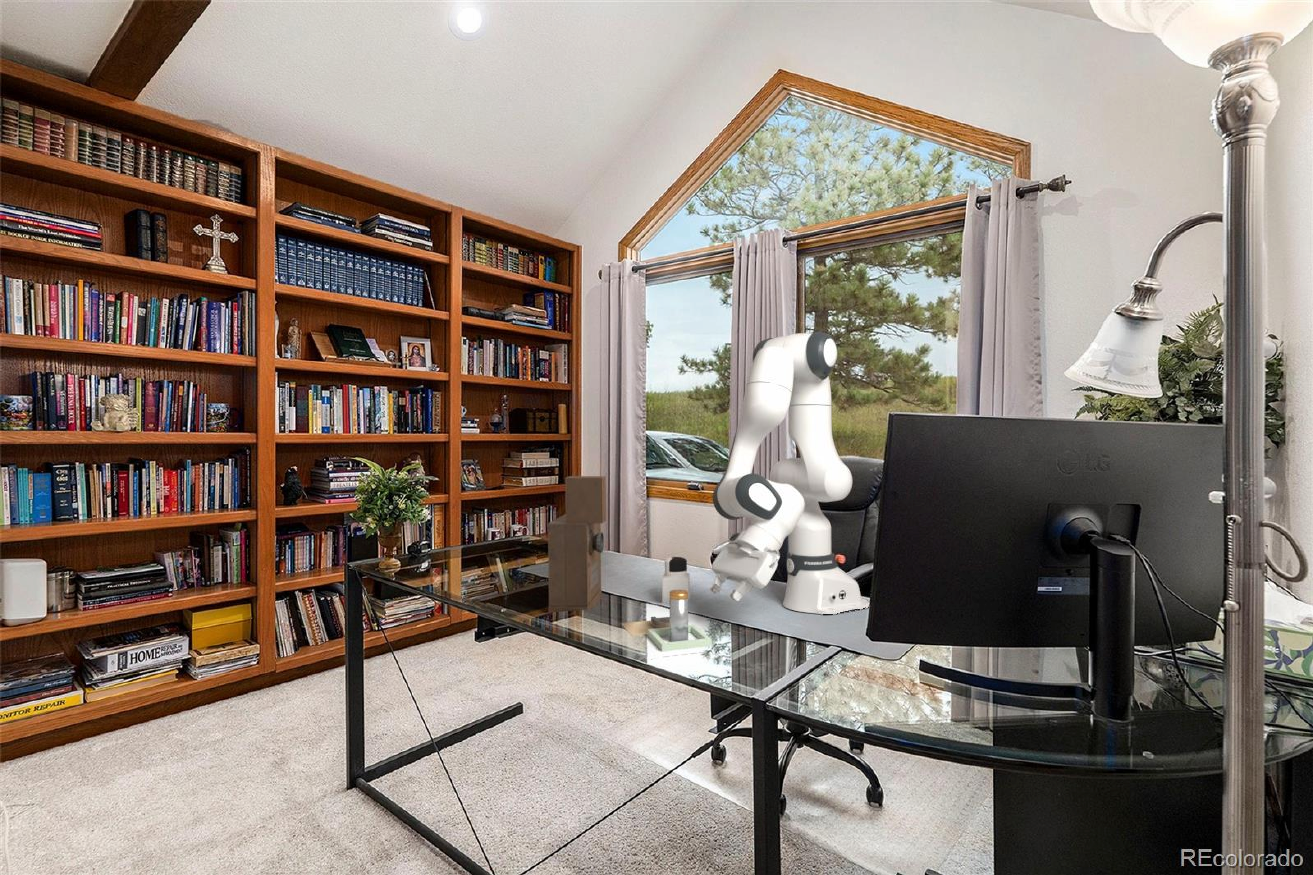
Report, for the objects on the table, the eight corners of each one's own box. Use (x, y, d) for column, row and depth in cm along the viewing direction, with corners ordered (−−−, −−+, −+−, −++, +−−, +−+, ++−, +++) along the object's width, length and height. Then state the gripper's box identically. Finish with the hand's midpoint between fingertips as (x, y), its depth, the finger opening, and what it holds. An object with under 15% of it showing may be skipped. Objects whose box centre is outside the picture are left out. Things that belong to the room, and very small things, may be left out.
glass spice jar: (684, 639, 146) (684, 589, 146) (690, 645, 142) (690, 593, 142) (667, 641, 145) (667, 590, 144) (673, 647, 141) (672, 594, 141)
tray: (694, 636, 150) (694, 624, 150) (711, 651, 140) (711, 639, 140) (647, 641, 147) (647, 629, 147) (662, 657, 136) (662, 644, 136)
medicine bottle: (689, 598, 184) (689, 555, 183) (688, 605, 177) (688, 560, 176) (664, 598, 184) (663, 555, 184) (662, 605, 177) (661, 560, 177)
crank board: (673, 623, 160) (673, 611, 160) (686, 635, 151) (686, 622, 151) (621, 628, 157) (620, 615, 156) (631, 641, 147) (631, 627, 147)
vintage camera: (603, 614, 168) (601, 477, 168) (548, 613, 170) (546, 478, 169) (615, 596, 187) (613, 472, 187) (566, 595, 189) (564, 473, 188)
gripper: (792, 560, 143) (757, 612, 139) (744, 550, 162) (711, 596, 158) (773, 541, 141) (737, 594, 137) (726, 534, 160) (693, 580, 156)
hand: (723, 595), depth 148 cm, fingers open, 8 cm apart
